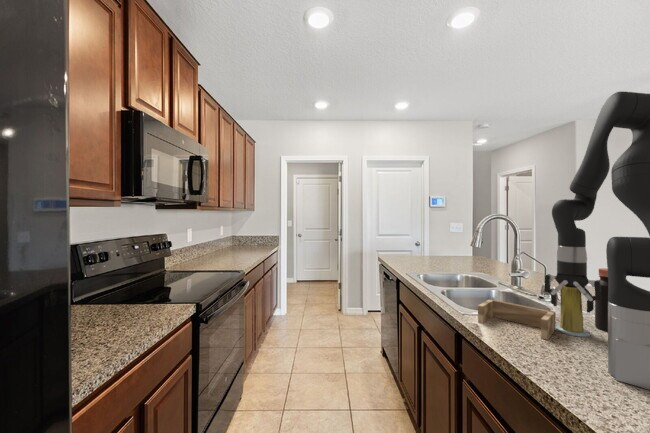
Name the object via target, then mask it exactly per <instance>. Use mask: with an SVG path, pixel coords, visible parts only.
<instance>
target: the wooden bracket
mask: <svg viewBox="0 0 650 433" xmlns="http://www.w3.org/2000/svg"><path fill="white" fill-rule="evenodd" d="M491 318H496V319H497V318H498V319H502V320H506V321H509V322H514V323H517V324H518V323H519V324H523V325H528V326H531V327H536V328H540V339H543V340H549V338H550V337H551V336H552V334H554V332H555V331H556V329H555V325H556V311H552V310H547V309H543V308H542V309H541V308H538V307H532V306H528V305H524V304H523V305H522V304H518V303H512V302H508V301H502V300H497V299H491V298H490V299H487V300H485V301H484V302H482V303H480V304H478V305H477V322H478V323H481V324H484V323H485V322H487V321H489V320H490V319H491Z"/></svg>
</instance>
